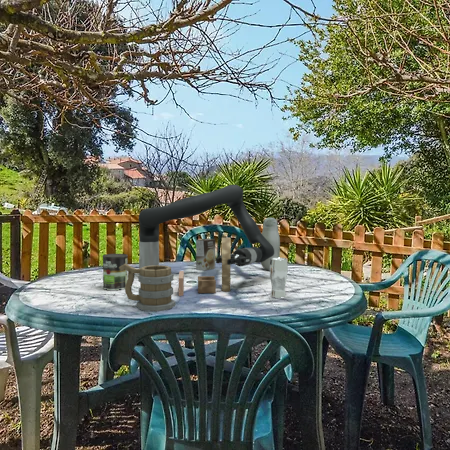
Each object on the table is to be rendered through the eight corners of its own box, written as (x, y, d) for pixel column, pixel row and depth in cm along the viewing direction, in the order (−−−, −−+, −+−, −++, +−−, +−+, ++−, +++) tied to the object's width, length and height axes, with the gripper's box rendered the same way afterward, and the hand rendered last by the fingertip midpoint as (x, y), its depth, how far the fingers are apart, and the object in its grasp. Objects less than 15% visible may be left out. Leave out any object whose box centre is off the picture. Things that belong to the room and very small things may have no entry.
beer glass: (275, 299, 160) (276, 260, 159) (265, 295, 167) (266, 258, 165) (290, 297, 164) (291, 259, 163) (280, 293, 170) (281, 257, 169)
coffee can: (118, 291, 173) (118, 257, 172) (97, 289, 176) (97, 256, 175) (132, 286, 182) (132, 254, 181) (112, 284, 186) (112, 253, 185)
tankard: (178, 303, 155) (178, 262, 154) (166, 312, 143) (166, 268, 141) (128, 299, 159) (128, 260, 158) (112, 308, 147) (111, 266, 146)
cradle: (198, 293, 170) (198, 280, 170) (197, 288, 179) (197, 276, 178) (215, 292, 170) (215, 280, 170) (214, 287, 179) (214, 276, 179)
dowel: (222, 291, 173) (222, 238, 172) (221, 289, 177) (221, 237, 175) (230, 291, 174) (231, 238, 172) (229, 289, 177) (230, 237, 176)
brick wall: (178, 295, 166) (178, 278, 165) (179, 287, 182) (179, 271, 181) (183, 295, 166) (183, 278, 165) (183, 287, 182) (183, 270, 181)
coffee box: (205, 270, 221) (205, 240, 220) (195, 269, 225) (195, 239, 224) (215, 268, 228) (215, 239, 227) (206, 267, 232) (206, 238, 231)
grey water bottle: (259, 268, 229) (260, 216, 227) (278, 268, 229) (279, 217, 227) (260, 271, 220) (261, 217, 218) (280, 271, 219) (281, 218, 217)
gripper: (231, 247, 190) (208, 251, 176) (258, 249, 182) (237, 253, 168) (231, 263, 191) (208, 268, 177) (258, 266, 182) (237, 272, 168)
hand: (222, 261), depth 172 cm, fingers open, 5 cm apart
